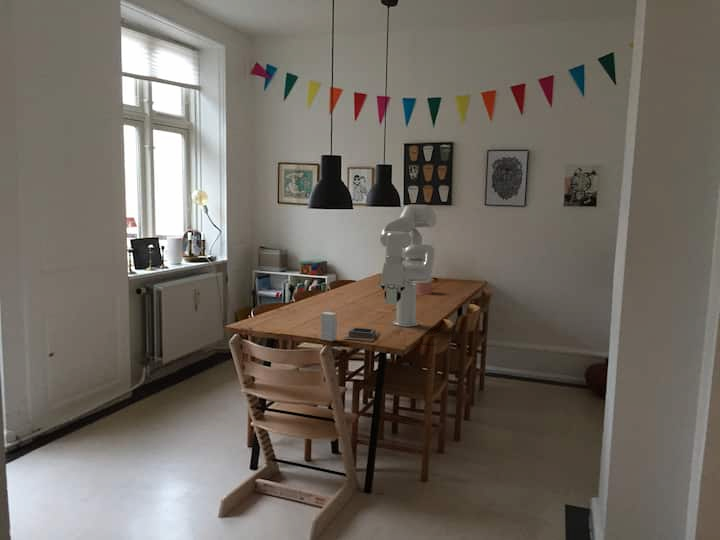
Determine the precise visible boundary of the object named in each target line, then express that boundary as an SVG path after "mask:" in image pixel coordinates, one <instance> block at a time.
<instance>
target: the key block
mask: <svg viewBox="0 0 720 540" xmlns="http://www.w3.org/2000/svg"><path fill="white" fill-rule="evenodd" d="M397 292H398V288H397V286H393V285H389V287H388V288H387V289H386V298H385V304H386V305H393V306H395V305H396V306H397V303H398V302H399V301H397Z"/></svg>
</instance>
